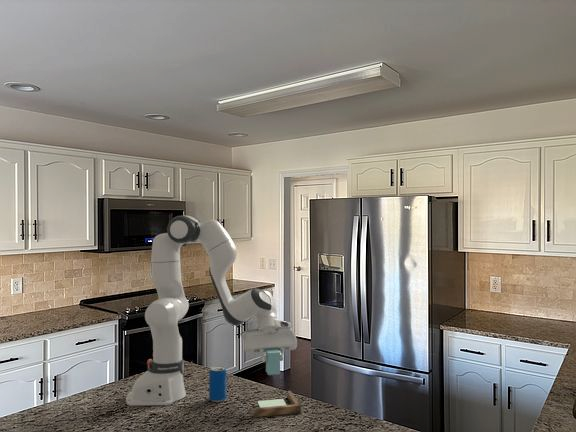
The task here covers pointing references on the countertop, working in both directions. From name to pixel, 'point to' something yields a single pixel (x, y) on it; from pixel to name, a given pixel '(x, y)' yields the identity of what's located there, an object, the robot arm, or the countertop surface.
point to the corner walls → (279, 408)
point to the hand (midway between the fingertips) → (273, 360)
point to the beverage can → (217, 384)
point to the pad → (271, 403)
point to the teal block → (273, 362)
